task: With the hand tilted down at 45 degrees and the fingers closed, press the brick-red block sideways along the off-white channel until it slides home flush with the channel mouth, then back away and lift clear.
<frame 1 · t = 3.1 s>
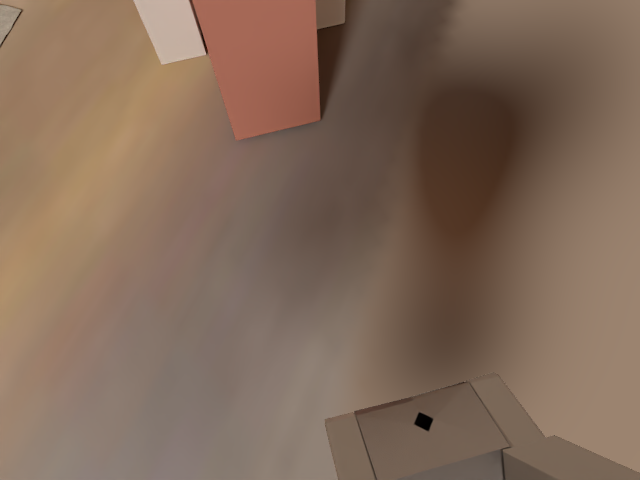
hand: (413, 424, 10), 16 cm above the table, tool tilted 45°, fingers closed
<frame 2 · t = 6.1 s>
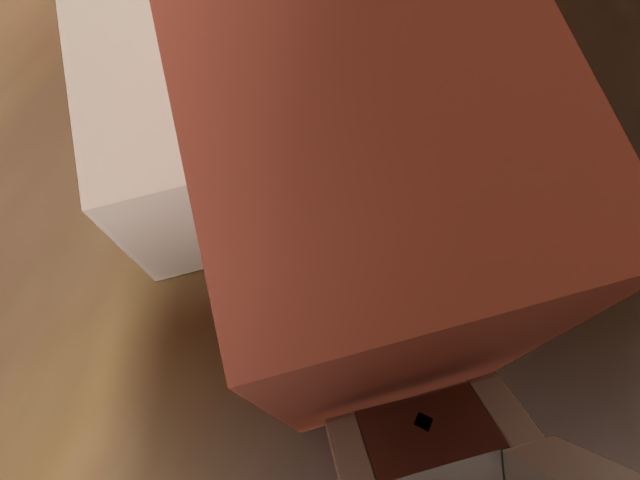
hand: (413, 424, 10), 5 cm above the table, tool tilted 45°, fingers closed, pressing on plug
dock: (288, 83, 19), on the table
plug: (337, 165, 11), point 5 cm above the table, slide at 0.9 cm, touching gripper
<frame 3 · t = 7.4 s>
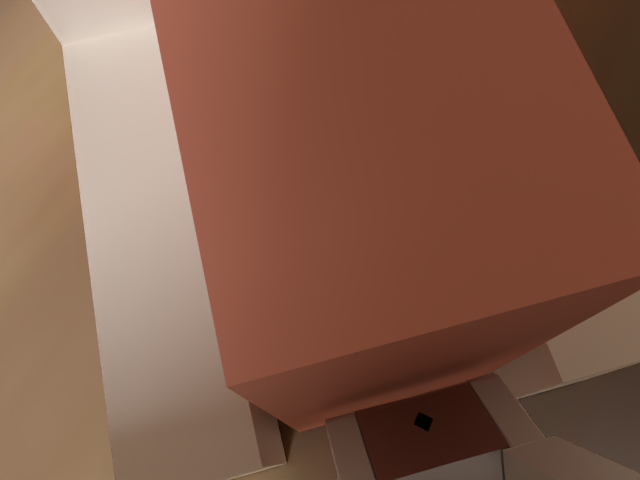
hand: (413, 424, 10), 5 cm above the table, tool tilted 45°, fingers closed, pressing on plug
dock: (334, 241, 17), on the table
plug: (337, 164, 12), point 5 cm above the table, slide at 6.6 cm, touching gripper
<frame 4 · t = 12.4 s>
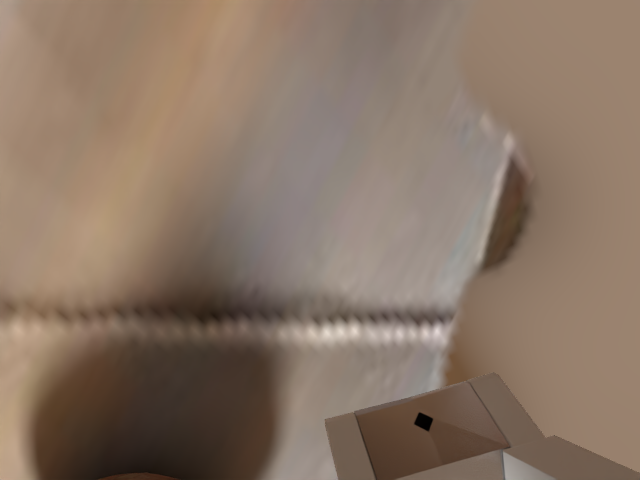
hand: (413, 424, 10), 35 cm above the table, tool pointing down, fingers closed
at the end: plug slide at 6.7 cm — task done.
